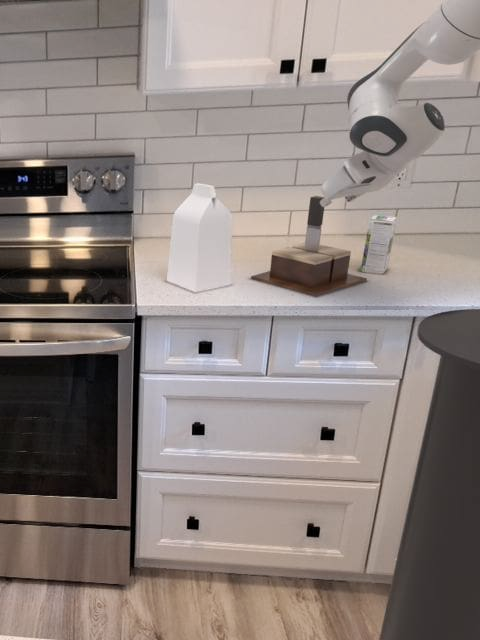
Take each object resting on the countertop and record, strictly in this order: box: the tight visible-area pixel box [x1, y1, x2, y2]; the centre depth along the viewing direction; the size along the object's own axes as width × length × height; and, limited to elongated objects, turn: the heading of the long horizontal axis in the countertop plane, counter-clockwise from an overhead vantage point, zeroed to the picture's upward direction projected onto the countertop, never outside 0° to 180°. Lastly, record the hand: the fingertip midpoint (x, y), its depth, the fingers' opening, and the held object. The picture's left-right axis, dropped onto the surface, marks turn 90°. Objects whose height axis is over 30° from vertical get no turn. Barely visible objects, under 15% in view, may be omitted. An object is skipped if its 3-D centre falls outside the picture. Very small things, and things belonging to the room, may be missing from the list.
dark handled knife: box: [304, 195, 325, 253], centre depth 177 cm, size 4×2×15 cm, turn 31°
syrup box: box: [360, 214, 398, 275], centre depth 184 cm, size 6×6×14 cm
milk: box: [166, 182, 233, 293], centre depth 180 cm, size 12×12×26 cm
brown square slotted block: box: [250, 242, 367, 298], centre depth 181 cm, size 20×20×8 cm
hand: (335, 202), depth 171 cm, fingers open, 8 cm apart
